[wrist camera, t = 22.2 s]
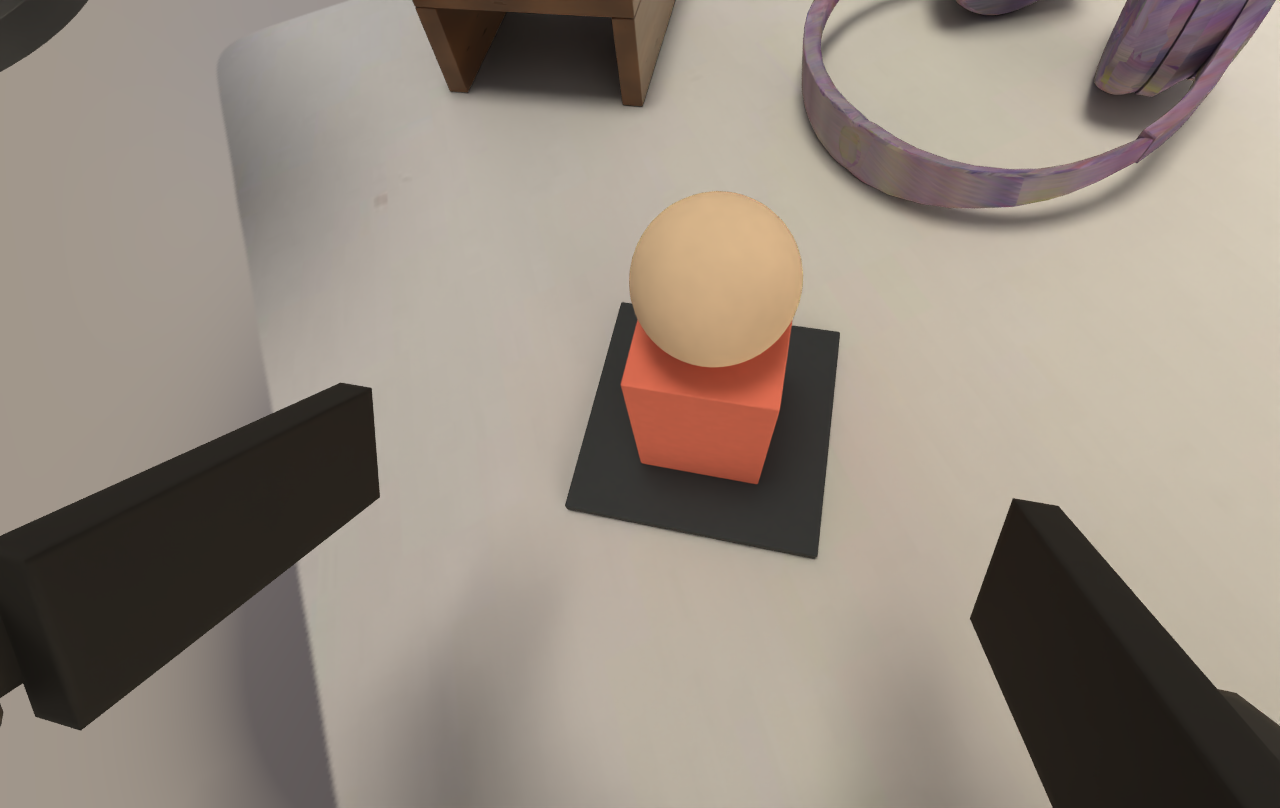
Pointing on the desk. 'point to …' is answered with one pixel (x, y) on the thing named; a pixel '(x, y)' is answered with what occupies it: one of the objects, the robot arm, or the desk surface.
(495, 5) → the shelf
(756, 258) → the toy
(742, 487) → the mat
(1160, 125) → the headphones
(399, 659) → the desk surface
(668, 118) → the desk surface
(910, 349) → the desk surface
